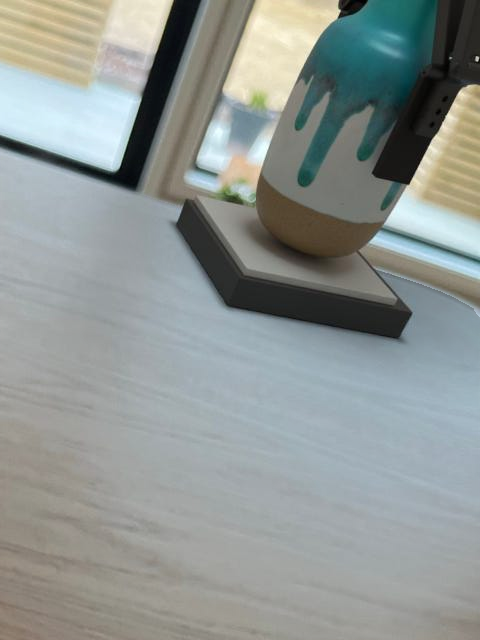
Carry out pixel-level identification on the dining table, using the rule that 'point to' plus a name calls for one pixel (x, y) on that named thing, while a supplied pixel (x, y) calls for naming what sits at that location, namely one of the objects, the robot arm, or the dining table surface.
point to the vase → (344, 129)
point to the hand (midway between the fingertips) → (351, 143)
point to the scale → (287, 272)
